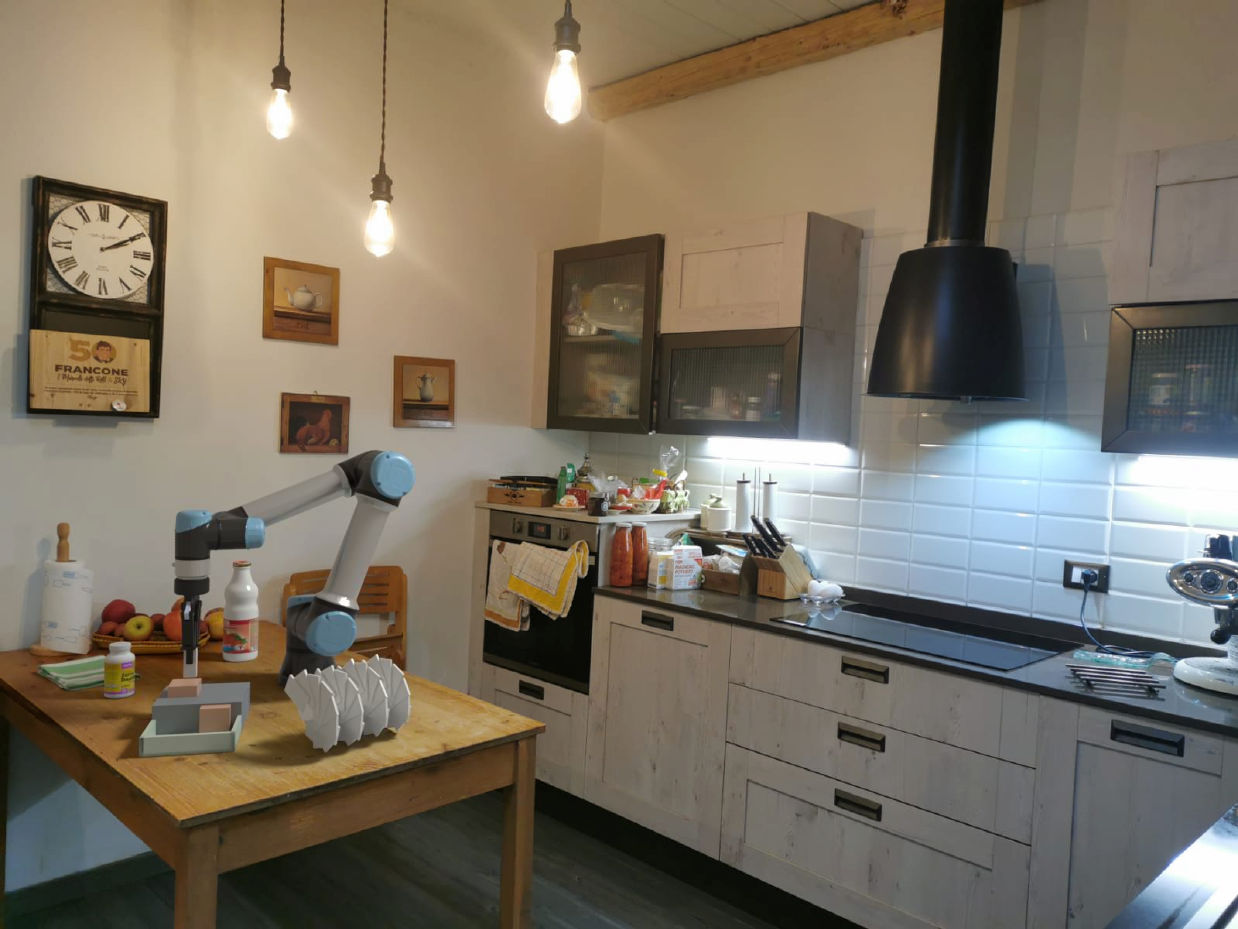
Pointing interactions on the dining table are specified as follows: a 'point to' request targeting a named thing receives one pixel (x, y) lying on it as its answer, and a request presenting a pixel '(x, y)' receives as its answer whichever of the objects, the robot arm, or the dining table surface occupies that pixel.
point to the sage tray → (188, 741)
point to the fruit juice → (240, 616)
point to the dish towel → (77, 673)
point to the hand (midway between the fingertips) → (190, 676)
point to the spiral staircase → (350, 700)
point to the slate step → (185, 710)
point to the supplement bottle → (119, 671)
